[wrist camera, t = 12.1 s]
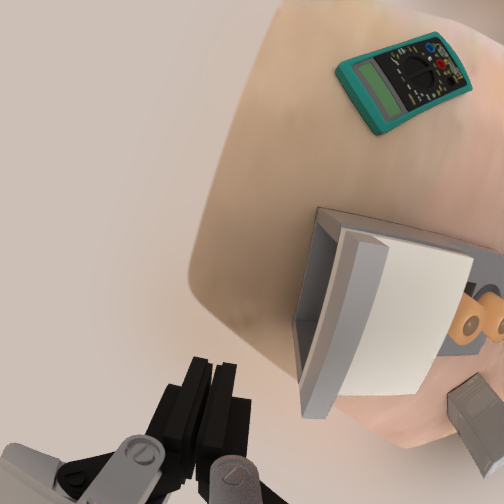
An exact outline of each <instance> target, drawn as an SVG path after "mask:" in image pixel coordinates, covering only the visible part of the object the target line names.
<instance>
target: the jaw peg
mask: <svg viewBox="0 0 504 504" xmlns="http://www.w3.org/2000/svg"><path fill="white" fill-rule="evenodd" d="M485 321H486V310H485V308H484V307H483V306H482V305H481V304H479V303H478V302H477V301H475V300H474V299H473V298H471V297H470V296H469V295H467V294H466V293H465V292H463V294H462V297H461V300H460V303H459V305H458V308H457V311H456V313H455V316H454V318H453V320H452V323H451V325H450V328H449V330H448V332H447V333H448V334H449V336H450V337H451V338H452V339H453V340H454V341H455V342H456V343H457V344H458V345H466V344H468V343H470V342H472V341H473V340H474V339H475V338H476V337H477V336H478V335H479V333H480V332H481V330H482V329H483V326H484V324H485Z"/></svg>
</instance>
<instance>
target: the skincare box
mask: <svg viewBox="0 0 504 504" xmlns="http://www.w3.org/2000/svg"><path fill="white" fill-rule="evenodd" d="M448 418H449V419H450V421H451V423H452V424H453V426H454V427H455V429H456V431H457V432H458V434H459V436H460V437H461V439H462V440H463V442H464V444H465V445H466V447H467V449H468V451H469V452H470V454H471V456H472V458H473V459H474V461H475V463H476V465H477V466H478V468H479V470H480V472H481V474H482V476H483V478H484V479H485V478H486V477H488V476H489V475H491V474H492V473H493V472H494V471H496V470H497V469H498V468H499V467H501V466H502V465H503V464H504V402H503V401H502V400H501V399H500V397H499V396H498V395H497V394H496V393H495V392H494V390H493V389H492V388H491V387H490V386H489V385H488V383H487V382H486V381H485V380H484V379H483V378H482V376H481V375H480V374H479V373H478V374H476V375H475V376H473V377H472V378H471V379H469V380H468V381H467V382H465V383H464V384H463V385H461V386H460V387H458V388H457V389H455V390H453V391H452V392H450V393H448Z"/></svg>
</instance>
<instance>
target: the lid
mask: <svg viewBox="0 0 504 504" xmlns="http://www.w3.org/2000/svg"><path fill="white" fill-rule="evenodd" d="M473 260H474V258H472V257H470V256H468V255H466V254H462V253H458V252H454V251H450V250H445V249H441V248H437V247H433V246H428V245H424V244H420V243H415V242H411V241H406V240H402V239H397V238H392V237H388V236H383V235H378V234H373V233H368V232H363V231H358V230H353V229H348V228H343V227H341V232H340V237H339V241H338V246H337V250H336V255H335V259H334V264H333V268H332V272H331V276H330V280H329V284H328V288H327V292H326V296H325V299H324V303H323V307H322V311H321V314H320V318H319V321H318V325H317V328H316V332H315V335H314V338H313V342H312V345H311V348H310V351H309V355H308V358H307V361H306V364H305V367H304V370H303V373H302V376H301V379H300V382H299V391H300V400H301V401H300V402H301V413H302V418H309V419H326V417H327V415H328V413H329V411H330V409H331V407H332V405H333V403H334V401H335V399H336V397H337V395H348V396H382V395H406V394H416V392H417V390H418V389H419V387H420V385H421V384H422V382H423V380H424V378H425V376H426V375H427V373H428V371H429V369H430V367H431V365H432V363H433V362H434V360H435V358H436V356H437V354H438V352H439V349H440V347H441V345H442V343H443V341H444V339H445V337H446V334H447V332H448V330H449V328H450V325H451V323H452V320H453V318H454V316H455V313H456V311H457V308H458V305H459V303H460V300H461V297H462V294H463V292H464V289H465V286H466V283H467V280H468V277H469V273H470V270H471V267H472V263H473Z"/></svg>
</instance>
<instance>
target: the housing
mask: <svg viewBox="0 0 504 504" xmlns="http://www.w3.org/2000/svg"><path fill="white" fill-rule="evenodd" d="M341 227H343V228H348V229H353V230H358V231H363V232H368V233H373V234H378V235H383V236H388V237H392V238H397V239H402V240H406V241H411V242H415V243H420V244H424V245H428V246H433V247H437V248H441V249H445V250H450V251H454V252H458V253H462V254H466V255H468V256H470V257H472V258H474V260H473V263H472V267H471V270H470V273H469V277H468V280H467V283H466V286H465V289H464V292H465V293H466V294H467V295H469V296H470V297H471V298H473V299H474V300H475V301H477V302H478V303H479V304H481V305H482V306H483V307H484V308H485V310H486V321H485V324H484V326H483V329H482V330H481V332H480V333H479V335H478V336H477V337H476V338H475V339H474V340H473V341H472V342H470V343H468V344H466V345H458V344H457V343H456V342H455V341H454V340H453V339H452V338H451V337H450V336H449V334H448V333H447V334H446V337H445V339H444V341H443V343H442V345H441V347H440V349H439V352H438V354H437V356H459V355H477V354H478V353H479V351H480V349H481V347H482V345H483V343H484V341H485V339H486V337H487V336H488V337H489V338H490V339H491V340H492V341H493V342H495V343H497V342H500V341H502V340H503V339H504V300H503V299H502V298H503V295H504V254H502V253H500V252H498V251H495V250H493V249H490V248H486V247H483V246H480V245H476V244H473V243H470V242H466V241H463V240H459V239H455V238H452V237H448V236H445V235H441V234H437V233H433V232H429V231H425V230H422V229H418V228H414V227H409V226H405V225H401V224H397V223H393V222H388V221H384V220H380V219H375V218H371V217H366V216H361V215H357V214H352V213H347V212H342V211H337V210H332V209H327V208H321V207H317V213H316V218H315V224H314V229H313V234H312V239H311V244H310V249H309V254H308V259H307V264H306V268H305V273H304V277H303V282H302V286H301V291H300V295H299V300H298V304H297V308H296V312H295V316H294V321H293V325H292V329H293V338H294V348H295V357H296V367H297V378H298V384H299V382H300V379H301V376H302V373H303V370H304V367H305V364H306V361H307V358H308V355H309V351H310V348H311V345H312V342H313V338H314V335H315V332H316V328H317V325H318V321H319V318H320V314H321V311H322V307H323V303H324V299H325V296H326V292H327V288H328V284H329V280H330V276H331V272H332V268H333V264H334V259H335V255H336V250H337V246H338V241H339V237H340V232H341Z"/></svg>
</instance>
